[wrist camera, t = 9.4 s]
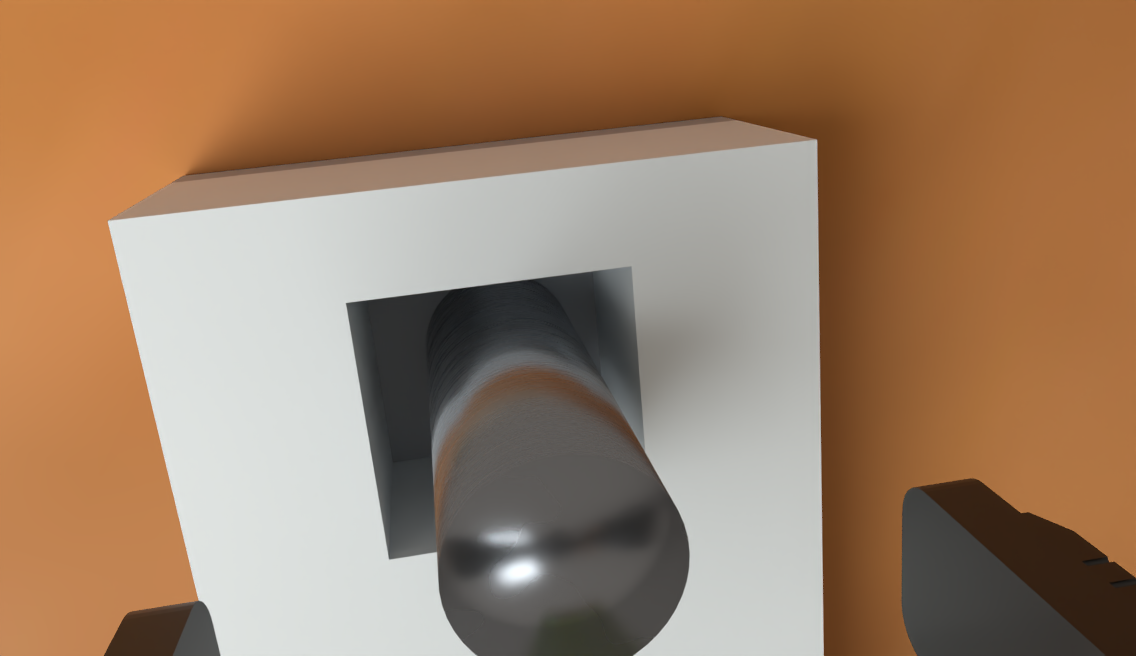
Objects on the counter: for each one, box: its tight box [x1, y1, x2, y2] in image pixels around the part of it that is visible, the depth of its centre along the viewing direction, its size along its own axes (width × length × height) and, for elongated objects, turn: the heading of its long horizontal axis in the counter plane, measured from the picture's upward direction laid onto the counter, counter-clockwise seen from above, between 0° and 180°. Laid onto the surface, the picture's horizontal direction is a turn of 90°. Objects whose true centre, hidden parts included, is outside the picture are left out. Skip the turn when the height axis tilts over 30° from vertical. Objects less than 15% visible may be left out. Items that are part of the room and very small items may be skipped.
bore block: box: [108, 116, 824, 656], centre depth 20 cm, size 11×16×5 cm
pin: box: [426, 279, 690, 656], centre depth 16 cm, size 3×3×9 cm
